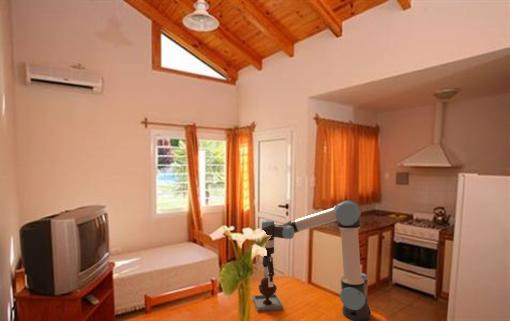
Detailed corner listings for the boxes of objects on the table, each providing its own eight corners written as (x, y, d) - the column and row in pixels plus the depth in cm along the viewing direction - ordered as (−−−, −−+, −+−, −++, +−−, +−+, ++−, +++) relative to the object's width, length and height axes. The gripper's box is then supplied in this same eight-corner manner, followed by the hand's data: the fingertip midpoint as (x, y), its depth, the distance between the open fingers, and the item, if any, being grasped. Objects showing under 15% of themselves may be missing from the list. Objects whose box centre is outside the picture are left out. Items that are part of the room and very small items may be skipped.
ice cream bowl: (275, 308, 157) (275, 281, 157) (256, 306, 159) (256, 280, 160) (277, 299, 167) (277, 274, 168) (259, 297, 170) (260, 273, 170)
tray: (282, 309, 157) (282, 305, 157) (257, 312, 154) (257, 307, 154) (276, 297, 172) (276, 293, 172) (252, 299, 169) (252, 295, 169)
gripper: (257, 241, 176) (257, 274, 175) (266, 252, 151) (266, 291, 151) (269, 240, 177) (269, 274, 176) (279, 251, 153) (279, 290, 152)
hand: (268, 282), depth 163 cm, fingers open, 13 cm apart
